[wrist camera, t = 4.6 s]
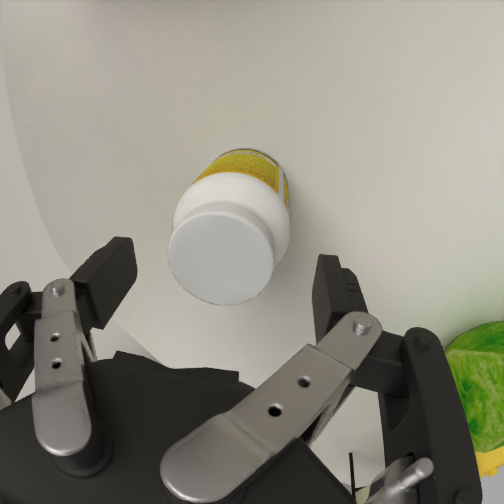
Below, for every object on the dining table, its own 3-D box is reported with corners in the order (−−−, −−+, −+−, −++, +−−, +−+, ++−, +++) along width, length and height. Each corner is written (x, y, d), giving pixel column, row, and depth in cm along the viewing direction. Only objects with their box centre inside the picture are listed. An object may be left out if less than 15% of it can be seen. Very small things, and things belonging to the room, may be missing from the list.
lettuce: (382, 399, 34) (444, 473, 25) (440, 377, 17) (526, 491, 8) (456, 321, 37) (512, 389, 28) (525, 252, 20) (597, 353, 11)
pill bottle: (190, 176, 22) (124, 242, 12) (257, 130, 20) (235, 161, 10) (236, 237, 24) (208, 334, 15) (302, 199, 22) (319, 284, 13)
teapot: (452, 446, 46) (462, 487, 35) (517, 414, 41) (530, 451, 30) (445, 461, 52) (452, 496, 41) (503, 433, 46) (513, 466, 36)
